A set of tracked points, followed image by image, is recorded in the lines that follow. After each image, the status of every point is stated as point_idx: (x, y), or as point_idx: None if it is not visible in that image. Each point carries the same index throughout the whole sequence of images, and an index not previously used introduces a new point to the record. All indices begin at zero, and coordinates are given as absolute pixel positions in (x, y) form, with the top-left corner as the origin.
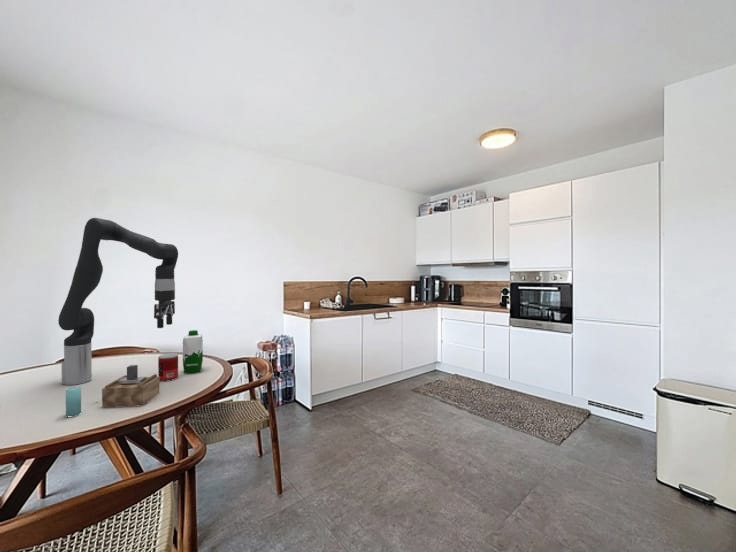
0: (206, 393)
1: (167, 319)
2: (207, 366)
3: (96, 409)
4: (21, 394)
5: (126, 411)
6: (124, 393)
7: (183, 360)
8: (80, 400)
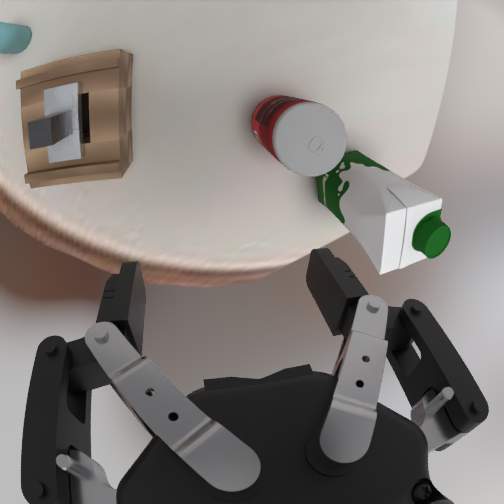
0: None
1: (329, 286)
2: None
3: (38, 65)
4: None
5: None
6: None
7: (344, 168)
8: (3, 51)
